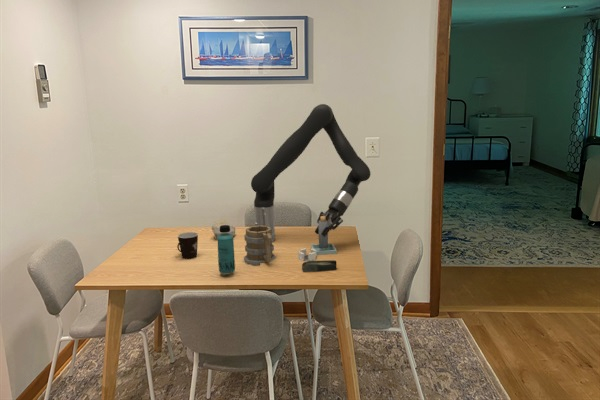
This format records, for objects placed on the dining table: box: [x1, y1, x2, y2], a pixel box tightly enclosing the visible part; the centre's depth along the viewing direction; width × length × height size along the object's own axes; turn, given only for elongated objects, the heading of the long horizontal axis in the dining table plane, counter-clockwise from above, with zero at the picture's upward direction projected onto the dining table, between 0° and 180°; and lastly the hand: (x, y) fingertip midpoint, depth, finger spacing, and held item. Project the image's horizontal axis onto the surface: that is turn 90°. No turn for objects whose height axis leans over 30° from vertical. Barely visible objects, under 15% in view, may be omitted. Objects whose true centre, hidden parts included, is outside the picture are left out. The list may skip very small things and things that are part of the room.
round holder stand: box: [297, 247, 318, 262], centre depth 198 cm, size 8×8×4 cm
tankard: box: [243, 225, 277, 266], centre depth 195 cm, size 20×13×15 cm, turn 22°
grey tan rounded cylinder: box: [317, 216, 329, 249], centre depth 205 cm, size 4×4×14 cm
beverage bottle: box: [216, 224, 236, 275], centre depth 183 cm, size 6×7×20 cm
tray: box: [310, 243, 338, 256], centre depth 207 cm, size 10×10×2 cm
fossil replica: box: [211, 220, 236, 239], centre depth 232 cm, size 12×8×10 cm
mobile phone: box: [301, 259, 337, 273], centre depth 184 cm, size 5×3×15 cm
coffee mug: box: [176, 231, 199, 260], centre depth 204 cm, size 12×9×10 cm
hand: (319, 234), depth 204 cm, fingers closed on grey tan rounded cylinder, 4 cm apart
